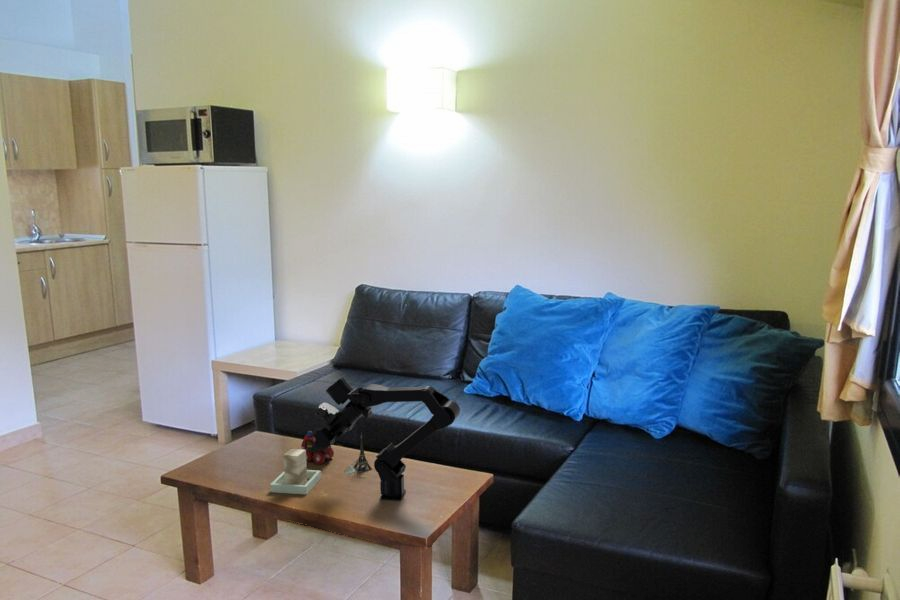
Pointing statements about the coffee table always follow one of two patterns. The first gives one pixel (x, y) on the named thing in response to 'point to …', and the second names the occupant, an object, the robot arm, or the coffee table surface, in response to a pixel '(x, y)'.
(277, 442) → the coffee table surface
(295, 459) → the maple block
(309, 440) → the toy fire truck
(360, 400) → the robot arm
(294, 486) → the frame
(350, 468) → the eiffel tower figurine
